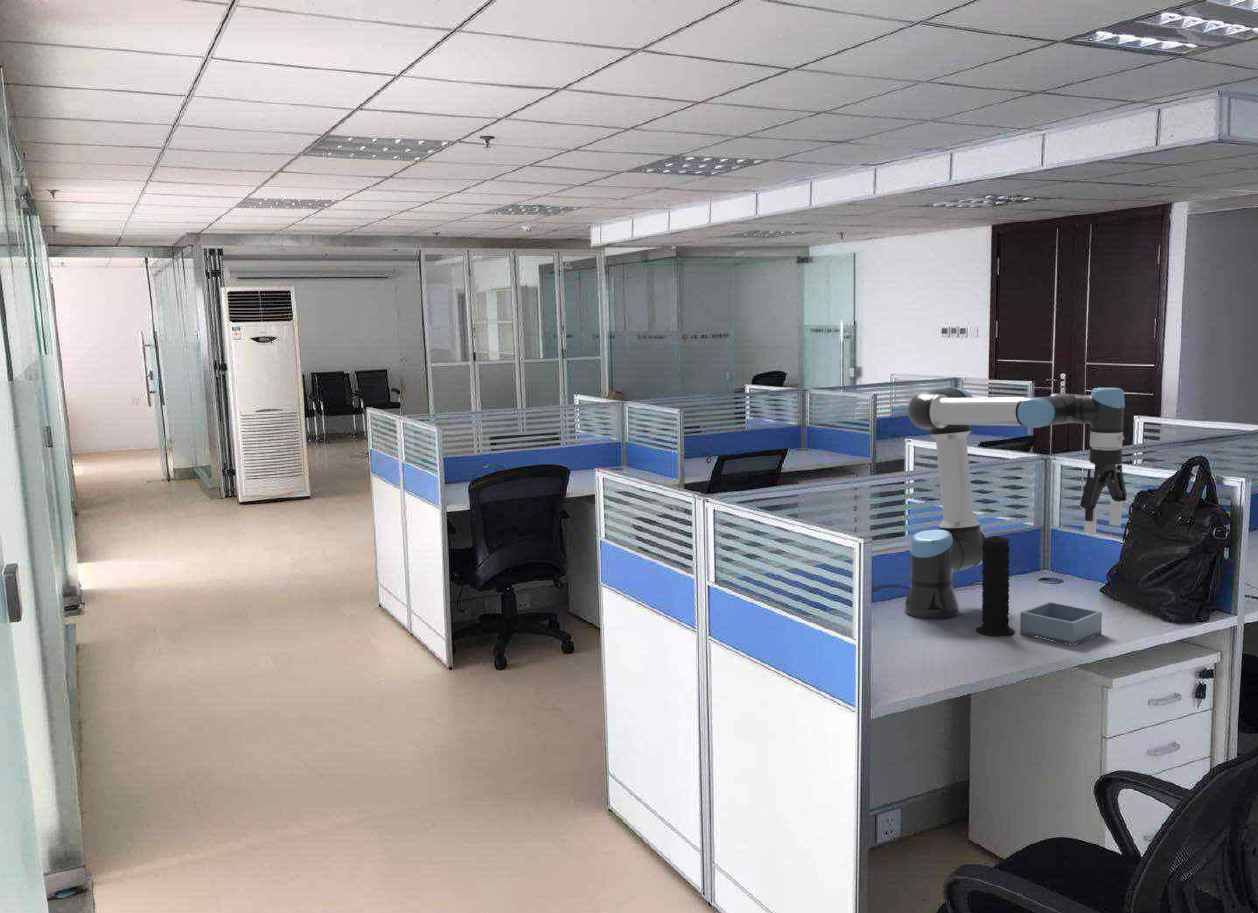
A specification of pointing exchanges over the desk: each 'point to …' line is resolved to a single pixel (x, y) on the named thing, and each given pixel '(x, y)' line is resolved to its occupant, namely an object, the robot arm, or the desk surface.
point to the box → (1061, 623)
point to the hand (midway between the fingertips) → (1102, 529)
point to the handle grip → (995, 587)
